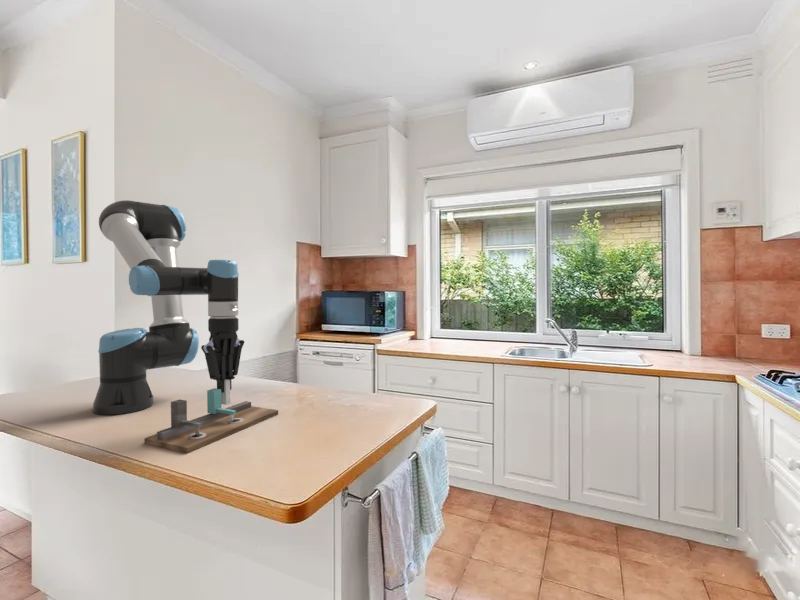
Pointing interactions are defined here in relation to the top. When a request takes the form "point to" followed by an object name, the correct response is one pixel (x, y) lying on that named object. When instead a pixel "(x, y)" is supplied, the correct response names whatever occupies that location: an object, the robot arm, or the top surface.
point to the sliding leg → (217, 403)
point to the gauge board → (205, 426)
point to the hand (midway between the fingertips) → (224, 403)
